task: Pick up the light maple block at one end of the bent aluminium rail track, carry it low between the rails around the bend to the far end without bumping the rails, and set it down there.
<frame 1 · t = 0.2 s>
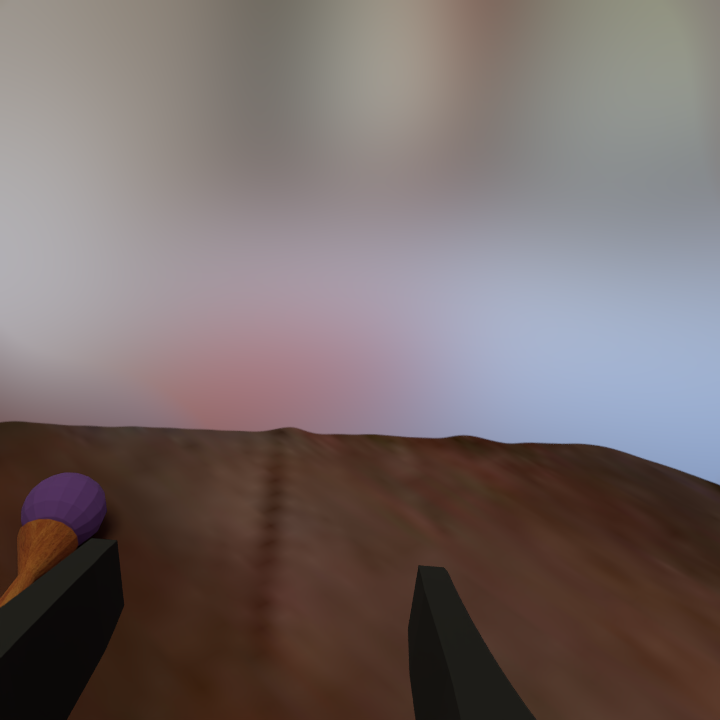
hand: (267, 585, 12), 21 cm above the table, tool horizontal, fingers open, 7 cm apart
kendama: (29, 610, 36), on the table
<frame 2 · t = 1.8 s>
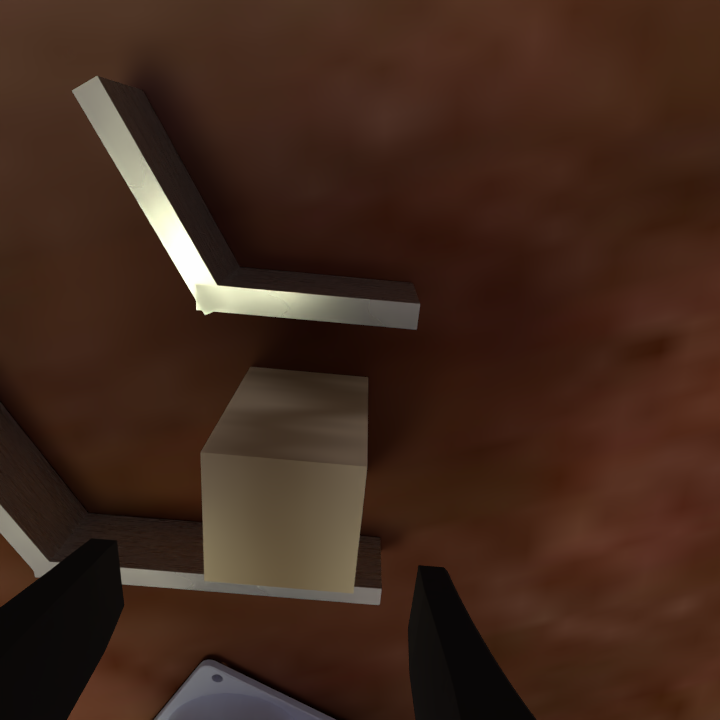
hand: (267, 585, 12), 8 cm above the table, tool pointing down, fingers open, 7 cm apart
rail track: (175, 372, 19), on the table
maple block: (306, 423, 20), on the table
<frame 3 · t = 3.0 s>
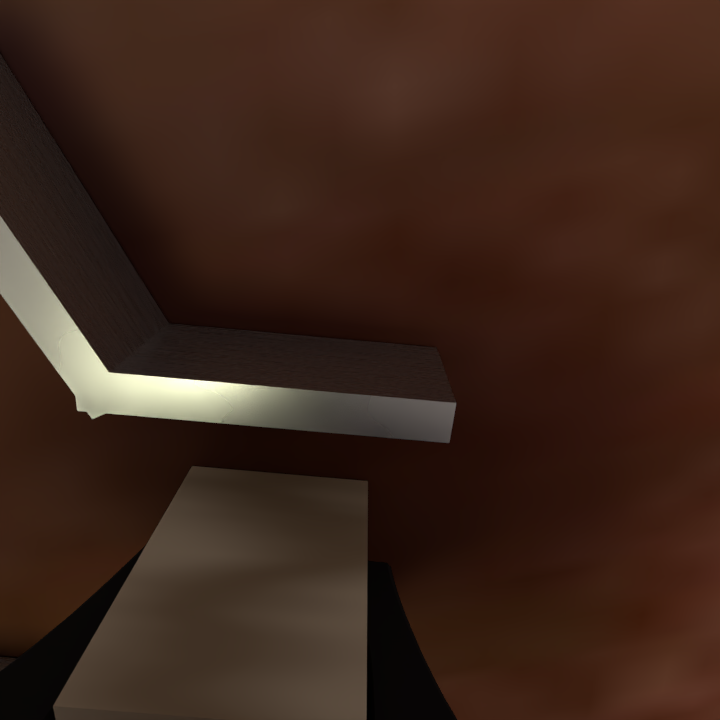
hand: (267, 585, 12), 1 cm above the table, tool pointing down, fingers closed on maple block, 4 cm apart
rail track: (80, 472, 13), on the table
maple block: (277, 543, 14), on the table, touching gripper
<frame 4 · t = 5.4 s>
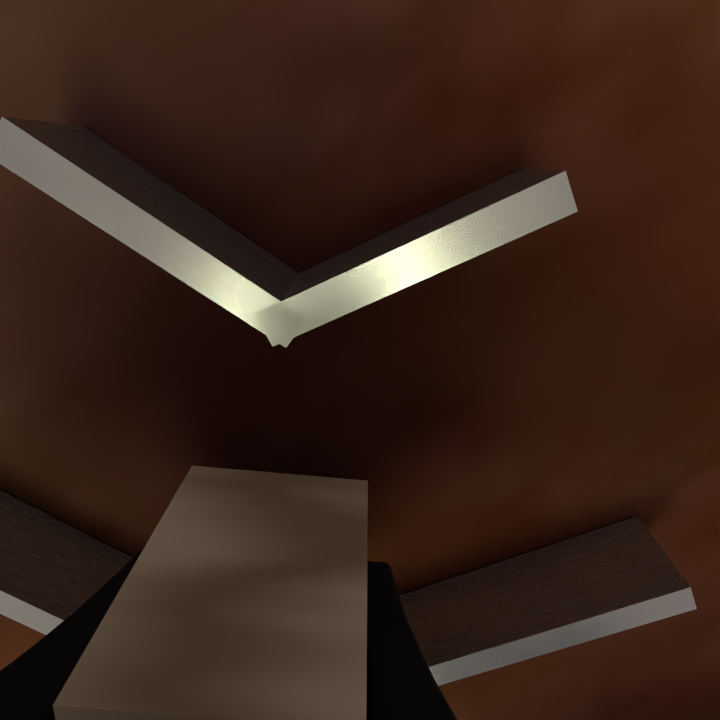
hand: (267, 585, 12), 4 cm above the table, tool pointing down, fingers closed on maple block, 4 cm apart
rail track: (291, 436, 15), on the table
maple block: (277, 543, 14), point 2 cm above the table, touching gripper
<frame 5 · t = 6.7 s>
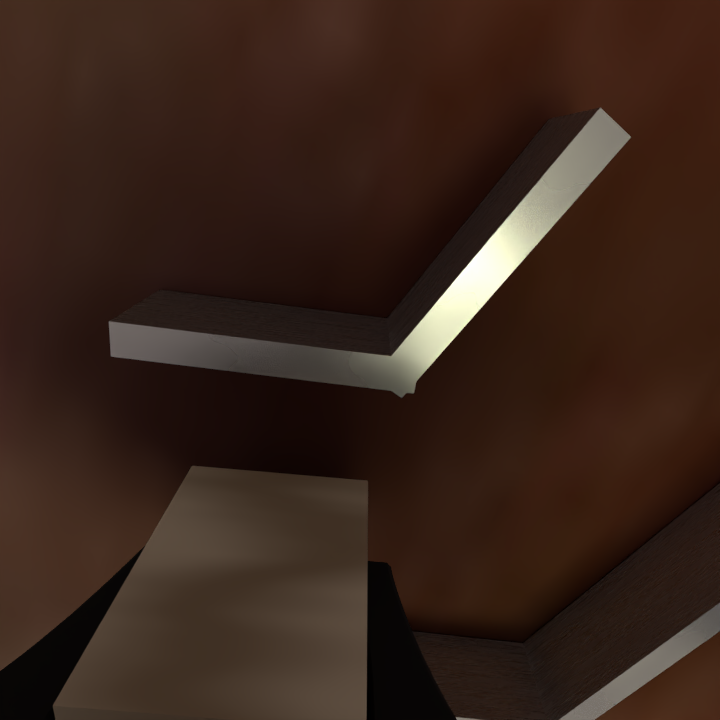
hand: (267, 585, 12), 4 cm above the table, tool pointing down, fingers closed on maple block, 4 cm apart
rail track: (447, 462, 15), on the table
maple block: (277, 543, 14), point 2 cm above the table, touching gripper
when the fingers open (2 cm above the table, at t = 7.7 s): maple block drops 1 cm, on the table.
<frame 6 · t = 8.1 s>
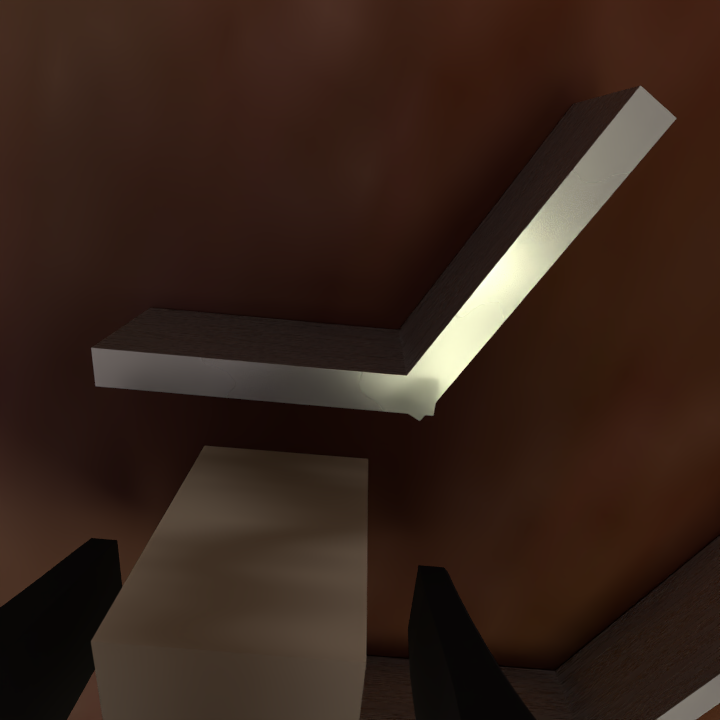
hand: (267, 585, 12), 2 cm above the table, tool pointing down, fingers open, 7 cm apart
rail track: (468, 483, 14), on the table
maple block: (284, 518, 15), on the table
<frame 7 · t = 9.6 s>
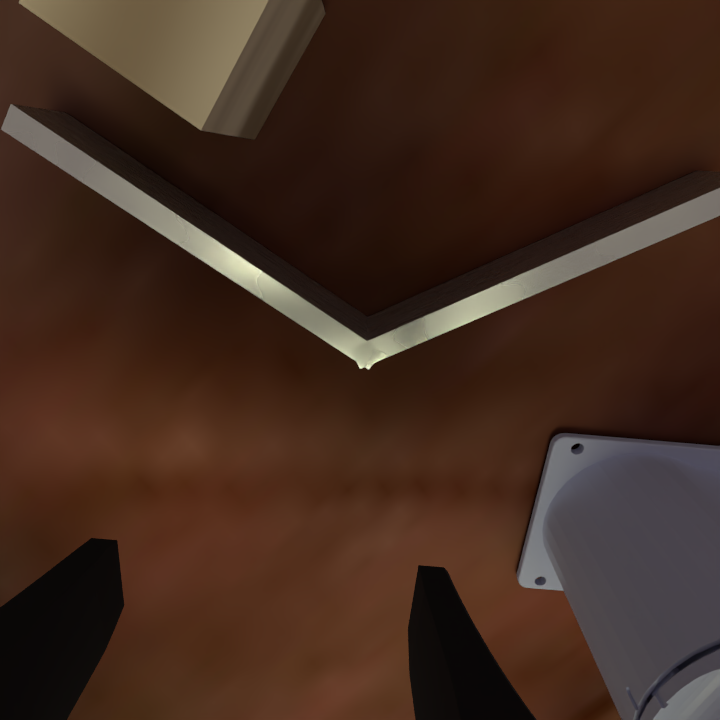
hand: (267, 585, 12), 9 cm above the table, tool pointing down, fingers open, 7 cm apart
rail track: (389, 84, 17), on the table
maple block: (230, 35, 16), on the table
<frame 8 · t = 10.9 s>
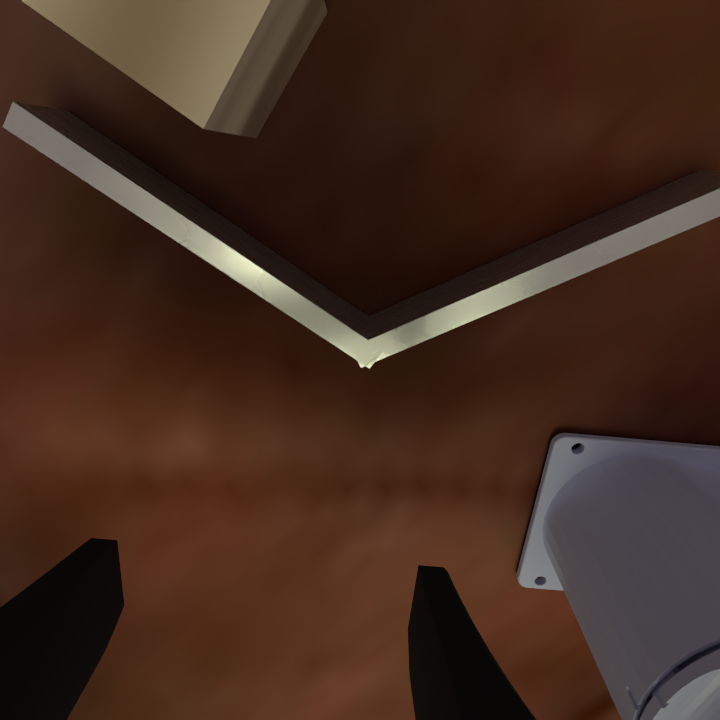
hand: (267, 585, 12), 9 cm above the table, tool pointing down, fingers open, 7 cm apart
rail track: (391, 83, 17), on the table
maple block: (231, 33, 16), on the table
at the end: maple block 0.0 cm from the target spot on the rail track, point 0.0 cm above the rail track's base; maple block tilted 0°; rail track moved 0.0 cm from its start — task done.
